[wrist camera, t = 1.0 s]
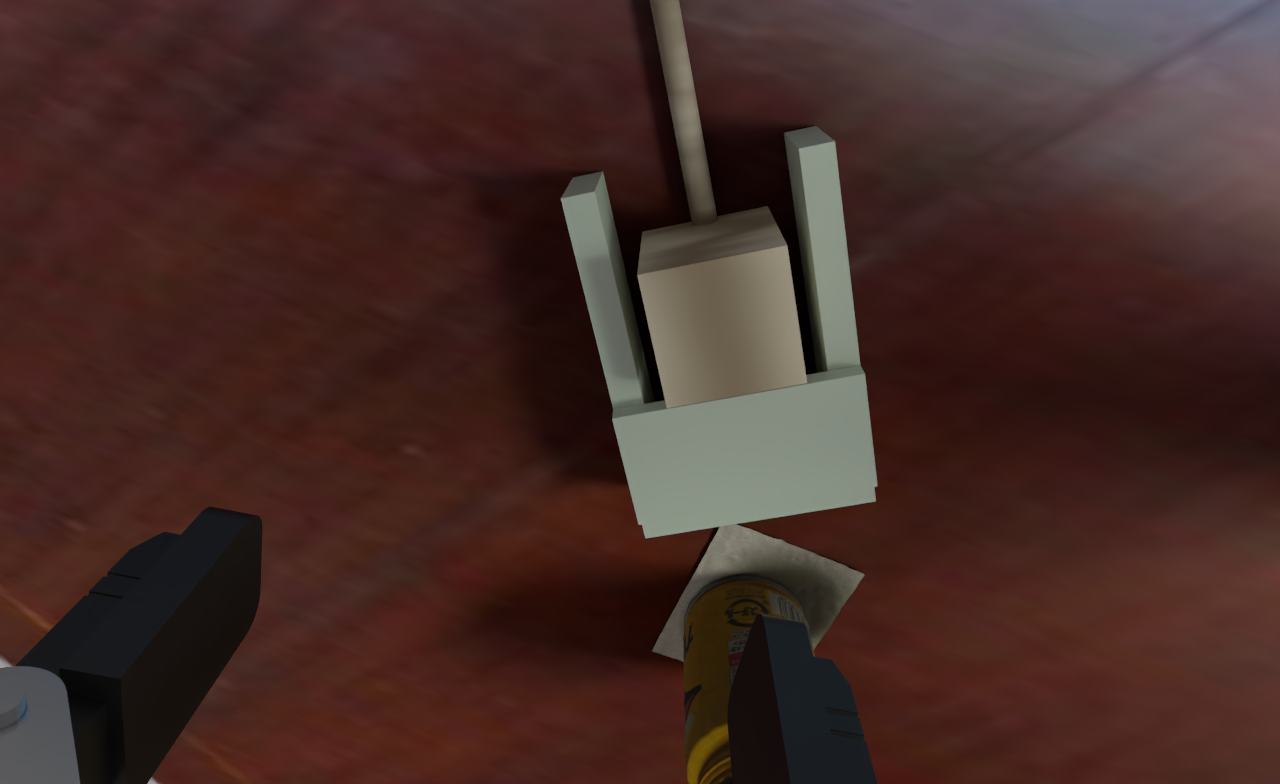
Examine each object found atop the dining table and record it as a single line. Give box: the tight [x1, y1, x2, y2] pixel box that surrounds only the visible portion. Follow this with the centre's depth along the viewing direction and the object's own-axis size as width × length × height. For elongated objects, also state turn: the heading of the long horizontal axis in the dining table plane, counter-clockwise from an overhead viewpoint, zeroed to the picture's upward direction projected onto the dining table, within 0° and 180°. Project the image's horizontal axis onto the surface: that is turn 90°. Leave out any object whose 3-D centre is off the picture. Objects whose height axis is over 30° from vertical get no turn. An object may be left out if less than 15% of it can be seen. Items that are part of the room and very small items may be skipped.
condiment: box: [652, 524, 865, 784], centre depth 36 cm, size 7×8×12 cm
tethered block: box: [637, 0, 807, 408], centre depth 28 cm, size 5×18×7 cm, turn 12°
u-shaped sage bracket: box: [561, 126, 878, 538], centre depth 33 cm, size 9×14×5 cm, turn 12°
